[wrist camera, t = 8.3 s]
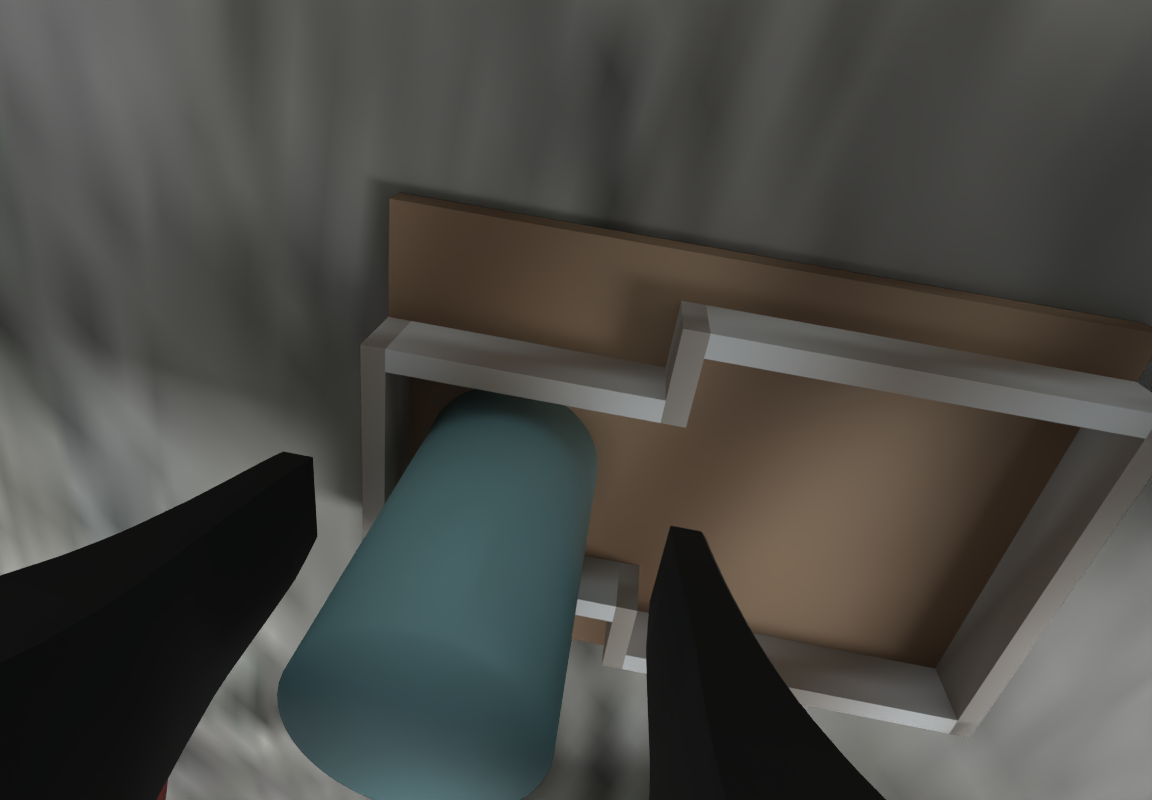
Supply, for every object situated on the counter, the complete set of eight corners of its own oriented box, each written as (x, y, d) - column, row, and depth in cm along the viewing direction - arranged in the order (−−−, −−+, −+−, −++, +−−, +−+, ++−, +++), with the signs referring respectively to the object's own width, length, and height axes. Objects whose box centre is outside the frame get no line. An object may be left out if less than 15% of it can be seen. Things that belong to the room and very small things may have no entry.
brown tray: (1145, 323, 13) (1225, 369, 11) (923, 690, 18) (952, 763, 16) (400, 192, 13) (358, 215, 12) (393, 586, 19) (364, 645, 17)
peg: (618, 412, 15) (586, 677, 8) (573, 545, 17) (521, 841, 10) (442, 363, 15) (281, 595, 8) (418, 503, 16) (274, 774, 10)
